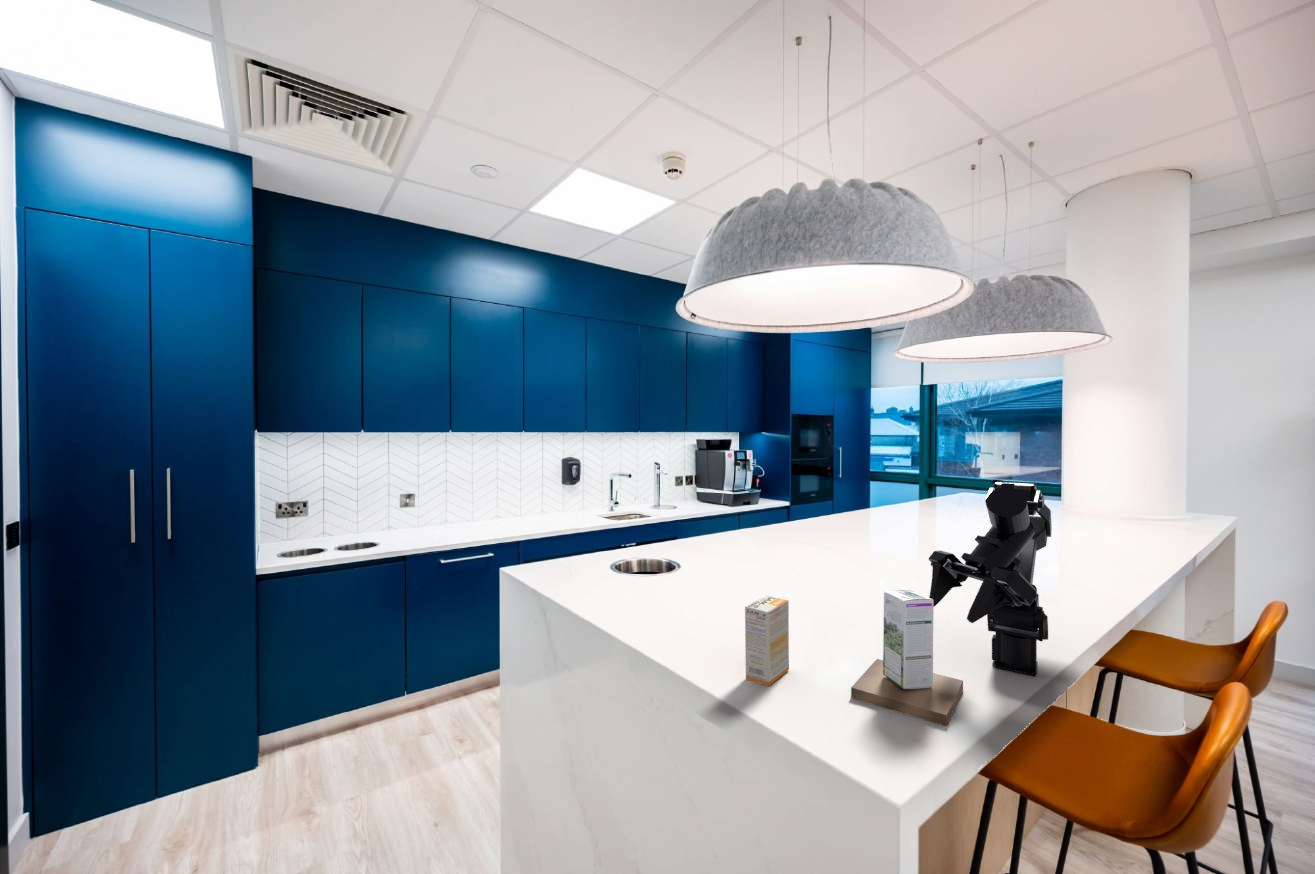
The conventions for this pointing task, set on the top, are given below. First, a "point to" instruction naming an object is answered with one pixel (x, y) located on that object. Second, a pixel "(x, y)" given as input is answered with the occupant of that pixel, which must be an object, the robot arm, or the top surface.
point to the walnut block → (909, 695)
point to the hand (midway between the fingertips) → (949, 612)
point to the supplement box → (767, 639)
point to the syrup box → (908, 639)
